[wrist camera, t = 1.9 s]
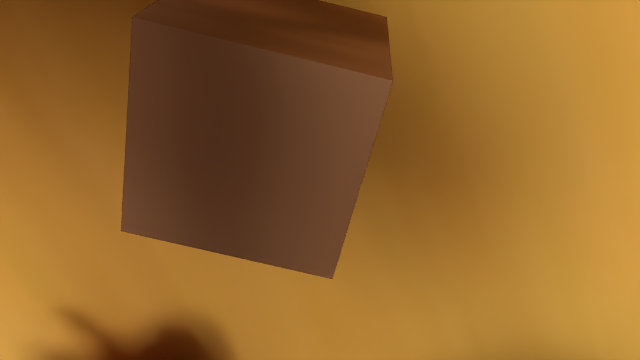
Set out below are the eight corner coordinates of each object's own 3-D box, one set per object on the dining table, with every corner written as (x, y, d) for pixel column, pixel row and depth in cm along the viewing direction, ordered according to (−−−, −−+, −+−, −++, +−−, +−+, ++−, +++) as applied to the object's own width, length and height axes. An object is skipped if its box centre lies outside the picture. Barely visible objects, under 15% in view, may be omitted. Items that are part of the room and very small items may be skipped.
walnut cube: (386, 16, 15) (392, 80, 11) (341, 174, 17) (332, 278, 13) (201, -30, 15) (131, 17, 10) (183, 137, 17) (121, 230, 13)
